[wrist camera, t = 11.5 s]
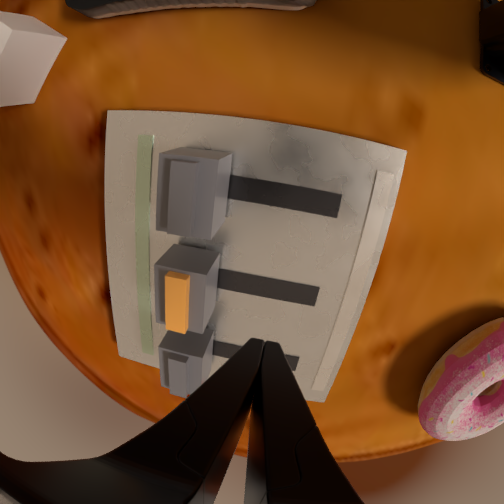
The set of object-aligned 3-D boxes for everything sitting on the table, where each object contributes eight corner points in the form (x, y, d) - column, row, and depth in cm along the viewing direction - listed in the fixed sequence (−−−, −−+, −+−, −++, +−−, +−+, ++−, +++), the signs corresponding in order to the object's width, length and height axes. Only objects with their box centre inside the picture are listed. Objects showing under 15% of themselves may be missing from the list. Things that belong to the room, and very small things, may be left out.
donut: (423, 428, 26) (431, 465, 22) (397, 352, 23) (410, 397, 18) (527, 375, 22) (544, 406, 18) (530, 281, 19) (560, 313, 14)
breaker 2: (214, 330, 22) (200, 364, 19) (211, 369, 23) (198, 403, 20) (173, 320, 22) (154, 352, 19) (174, 360, 24) (158, 391, 20)
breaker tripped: (220, 252, 19) (203, 280, 16) (215, 306, 21) (199, 340, 18) (173, 243, 20) (149, 269, 16) (172, 297, 21) (151, 328, 18)
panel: (399, 148, 17) (407, 151, 15) (323, 389, 25) (324, 403, 24) (119, 109, 18) (106, 110, 17) (126, 345, 27) (118, 356, 25)
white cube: (4, 75, 18) (-46, 78, 13) (33, 16, 16) (-17, 9, 10) (34, 103, 19) (-21, 109, 13) (68, 38, 17) (12, 29, 11)
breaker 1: (232, 153, 17) (215, 161, 14) (224, 221, 18) (207, 244, 15) (181, 147, 17) (153, 154, 14) (176, 213, 19) (150, 234, 15)
